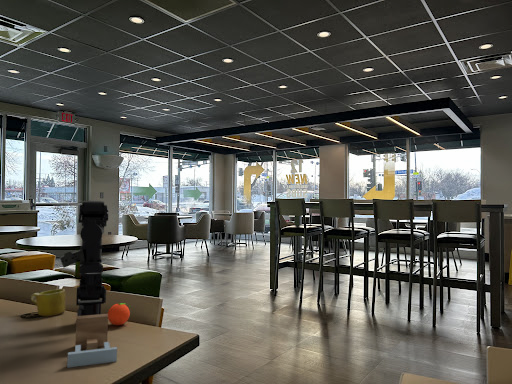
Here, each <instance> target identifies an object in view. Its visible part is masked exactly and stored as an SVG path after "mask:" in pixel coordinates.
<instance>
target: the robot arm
mask: <svg viewBox="0 0 512 384" xmlns="http://www.w3.org/2000/svg"><path fill="white" fill-rule="evenodd" d="M78 211H79V213H78V221H77V222H78V224H79V223H80V224H81V227H82V228H81V230H80V238H81V245H80V247H79V248H80V249H79V250H76V251H73V252H72V251H71V250H70V251H67V252H64V255H62V256H60V257H59V259H60V262H61V265H62V268H63V269H64V268H67V267H69V266H71V265H74V264H75V263H79V272H78V274H79V275H80V276H81V277H80V279H79V286H77V287H76V300H75V301H76V303H75V304H76V306H78V308H77V310H76V311H77V313H76V317H77V316H87V315H99V314H102V305H104V304H105V303H107V302H106V301H107V289H106V287H105V285H103V278H102V275H103V273H104V265H103V264H102V261H103V260H102V249H103V235H104V233H105V227H107V222H108V221H109V208H108V205H107V204H105V201H101V200H82V203H81V204H79V210H78Z"/></svg>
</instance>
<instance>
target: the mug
mask: <svg viewBox="0 0 512 384" xmlns="http://www.w3.org/2000/svg"><path fill="white" fill-rule="evenodd" d="M30 300H31V301H32V303H33V304H34V305H35V307H36V309H37V314H38V315H39V316H40V317H41V316H42V317H49V318H50V317H54V316H58V315H60V314H63V313H64V312H65V311H66V290H65V289H63V288H61V289H60V288H59V289H58V288H57V289H50V290H45V291H41V292H40V293H39V292H35V293H33V294H31V295H30Z"/></svg>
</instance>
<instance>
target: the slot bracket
mask: <svg viewBox="0 0 512 384" xmlns="http://www.w3.org/2000/svg"><path fill="white" fill-rule="evenodd" d="M110 345H111V344H110V341H107V342H104V346H103V348H97V349H95V350H86V349H85V350H82V349H81V345H74V347H75V348H74V351H70V352H67V365H66V366H67V368H75V367H83V366H89V365H90V366H91V365H98V364H107V363H113V362H114V363H115V362H117V361H118V347H117V346H113V347H111V346H110Z"/></svg>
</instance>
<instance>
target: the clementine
mask: <svg viewBox="0 0 512 384" xmlns="http://www.w3.org/2000/svg"><path fill="white" fill-rule="evenodd" d="M128 306H129V307H130V308H132V307H131V305H130V304H128V305H127V303H124V302H123V303H122V302H121V303H120V302H119V303H115V304H113V305H112V306H111V307H110V308H109V309H108V311H107V314H108V322H109V323H110V324H111V325H114V326H122V325H124V324H125V323H126V322H127V321H128V320H129V318H130V315H131V312H130V308H129V307H128Z"/></svg>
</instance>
